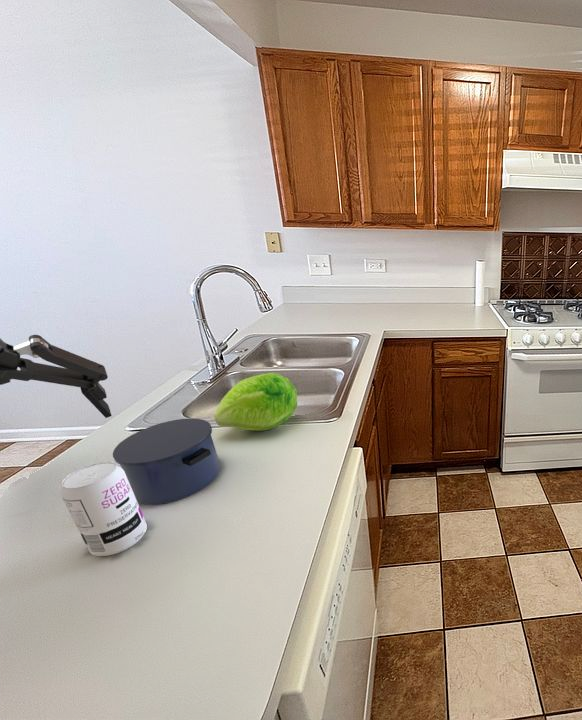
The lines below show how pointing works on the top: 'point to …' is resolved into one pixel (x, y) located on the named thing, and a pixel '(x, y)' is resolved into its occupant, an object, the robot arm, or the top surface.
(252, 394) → the lettuce
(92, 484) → the supplement can
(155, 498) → the pot
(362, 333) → the top surface
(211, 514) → the top surface
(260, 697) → the top surface
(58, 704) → the top surface
